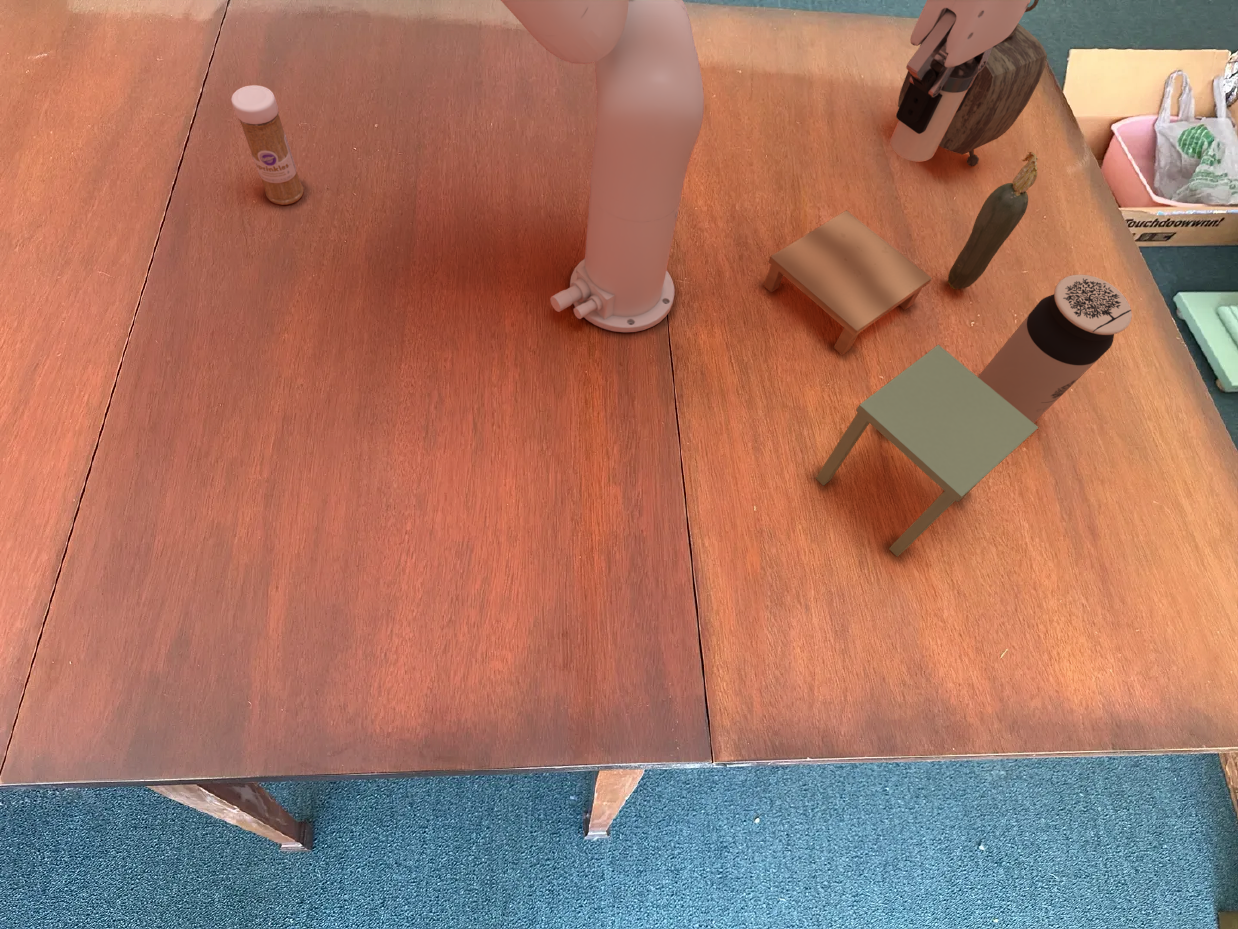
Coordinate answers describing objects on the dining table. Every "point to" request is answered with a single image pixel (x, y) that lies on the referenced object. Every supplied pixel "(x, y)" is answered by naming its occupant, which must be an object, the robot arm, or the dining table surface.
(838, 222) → the low shelf
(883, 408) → the tall stand
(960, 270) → the vegetable
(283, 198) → the sprinkles bottle
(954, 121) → the tabletop clock
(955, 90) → the spice jar
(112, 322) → the dining table surface
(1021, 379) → the travel mug
